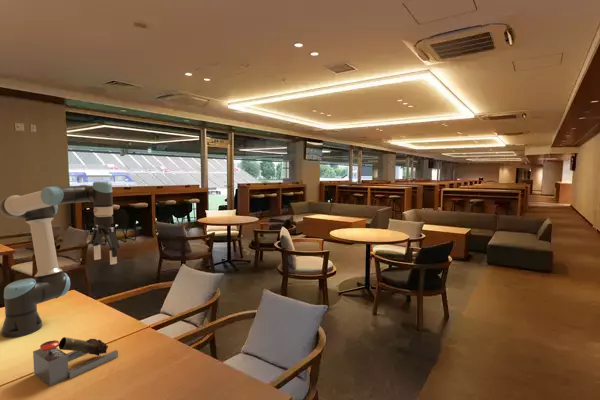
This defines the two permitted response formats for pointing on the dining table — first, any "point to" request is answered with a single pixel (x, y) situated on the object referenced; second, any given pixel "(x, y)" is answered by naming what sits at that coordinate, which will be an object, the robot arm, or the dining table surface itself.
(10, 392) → the dining table surface
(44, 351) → the cradle
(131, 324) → the dining table surface
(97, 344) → the morel mushroom
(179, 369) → the dining table surface
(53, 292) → the robot arm
